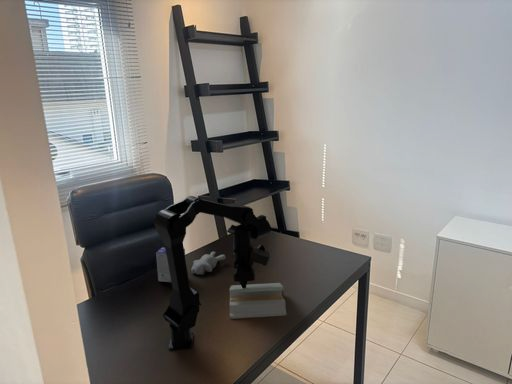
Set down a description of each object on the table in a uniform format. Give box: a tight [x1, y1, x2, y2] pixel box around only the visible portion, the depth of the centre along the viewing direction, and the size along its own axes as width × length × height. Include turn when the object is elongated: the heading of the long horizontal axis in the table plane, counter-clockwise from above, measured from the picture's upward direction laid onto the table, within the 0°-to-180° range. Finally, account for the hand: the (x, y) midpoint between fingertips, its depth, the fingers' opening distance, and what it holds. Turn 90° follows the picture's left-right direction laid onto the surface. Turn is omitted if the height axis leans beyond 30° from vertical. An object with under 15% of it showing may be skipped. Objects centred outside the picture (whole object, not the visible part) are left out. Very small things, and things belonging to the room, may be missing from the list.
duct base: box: [229, 287, 287, 319], centre depth 126 cm, size 16×18×4 cm
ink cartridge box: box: [155, 246, 186, 283], centre depth 142 cm, size 10×6×14 cm, turn 78°
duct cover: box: [230, 282, 284, 293], centre depth 124 cm, size 10×17×1 cm, turn 94°
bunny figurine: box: [190, 251, 226, 276], centre depth 152 cm, size 10×5×15 cm
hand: (244, 287), depth 122 cm, fingers closed
